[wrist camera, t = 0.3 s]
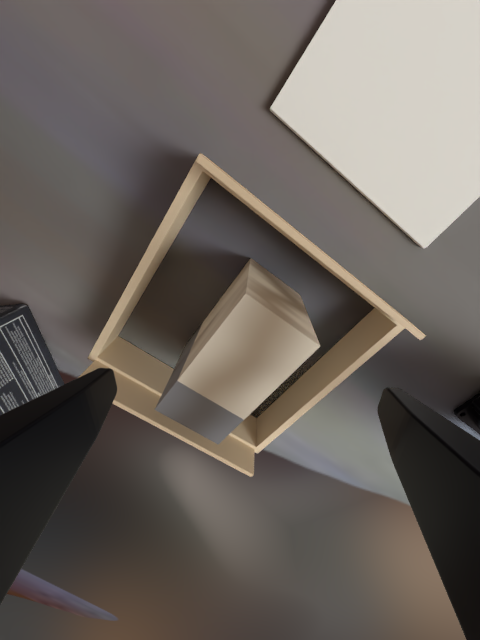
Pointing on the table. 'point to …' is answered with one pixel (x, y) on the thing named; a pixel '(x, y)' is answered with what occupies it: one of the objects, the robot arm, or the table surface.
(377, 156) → the white square tile
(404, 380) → the table surface
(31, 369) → the small box
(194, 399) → the block
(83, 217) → the table surface
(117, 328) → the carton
